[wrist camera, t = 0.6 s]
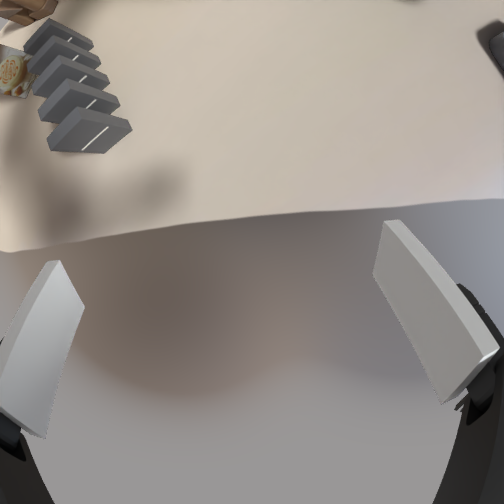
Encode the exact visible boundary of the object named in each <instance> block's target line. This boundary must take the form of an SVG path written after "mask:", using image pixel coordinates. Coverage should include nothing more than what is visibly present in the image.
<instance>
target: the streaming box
mask: <svg viewBox="0 0 504 504" xmlns="http://www.w3.org/2000/svg"><path fill="white" fill-rule="evenodd" d="M489 46H490V49H491V52H492V54H493V55H494V57H495V59H496V60H497V61H498V63H499V65H500V66H501V68H502V69H503V71H504V31H503V32H502V33H500V34H498V35H497V36H495V37H494V38H492V39H491V40H490V41H489Z"/></svg>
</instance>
